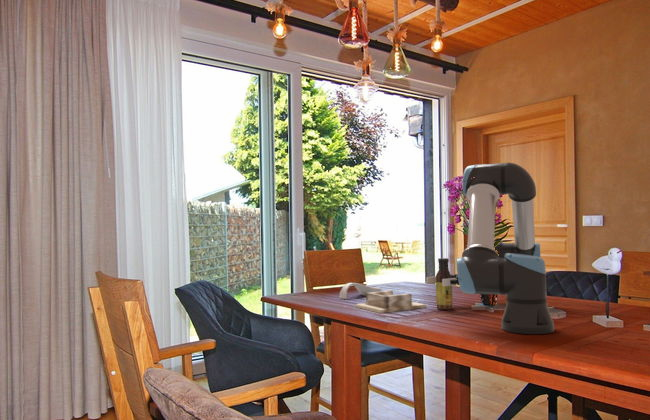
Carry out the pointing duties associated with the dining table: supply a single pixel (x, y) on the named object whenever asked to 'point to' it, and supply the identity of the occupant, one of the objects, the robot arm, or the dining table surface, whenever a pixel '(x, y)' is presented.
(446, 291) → the sauce bottle
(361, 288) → the grey arched piece
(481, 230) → the robot arm
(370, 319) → the dining table surface
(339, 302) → the dining table surface
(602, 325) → the dining table surface
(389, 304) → the U-rest
